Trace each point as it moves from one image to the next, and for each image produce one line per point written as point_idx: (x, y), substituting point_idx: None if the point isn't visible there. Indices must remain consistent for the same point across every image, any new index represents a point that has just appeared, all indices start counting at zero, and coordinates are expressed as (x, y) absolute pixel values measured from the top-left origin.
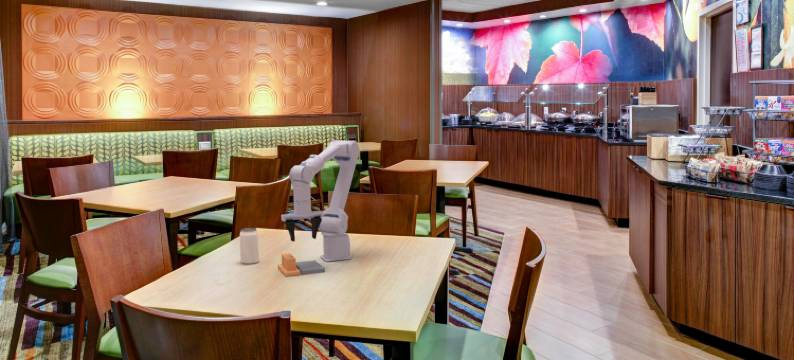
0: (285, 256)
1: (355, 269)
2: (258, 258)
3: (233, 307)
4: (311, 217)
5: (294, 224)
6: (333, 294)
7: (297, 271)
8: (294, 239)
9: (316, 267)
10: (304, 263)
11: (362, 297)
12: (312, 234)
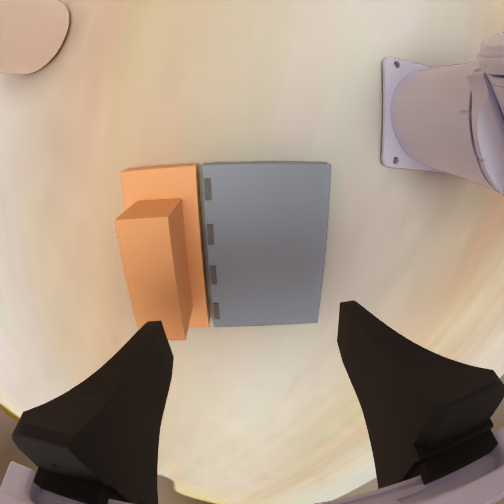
0: (134, 282)
1: (418, 315)
2: (56, 39)
3: None
4: (382, 498)
5: (153, 498)
6: (258, 457)
7: (196, 324)
8: (169, 370)
9: (291, 298)
10: (257, 207)
11: (303, 470)
12: (349, 329)
